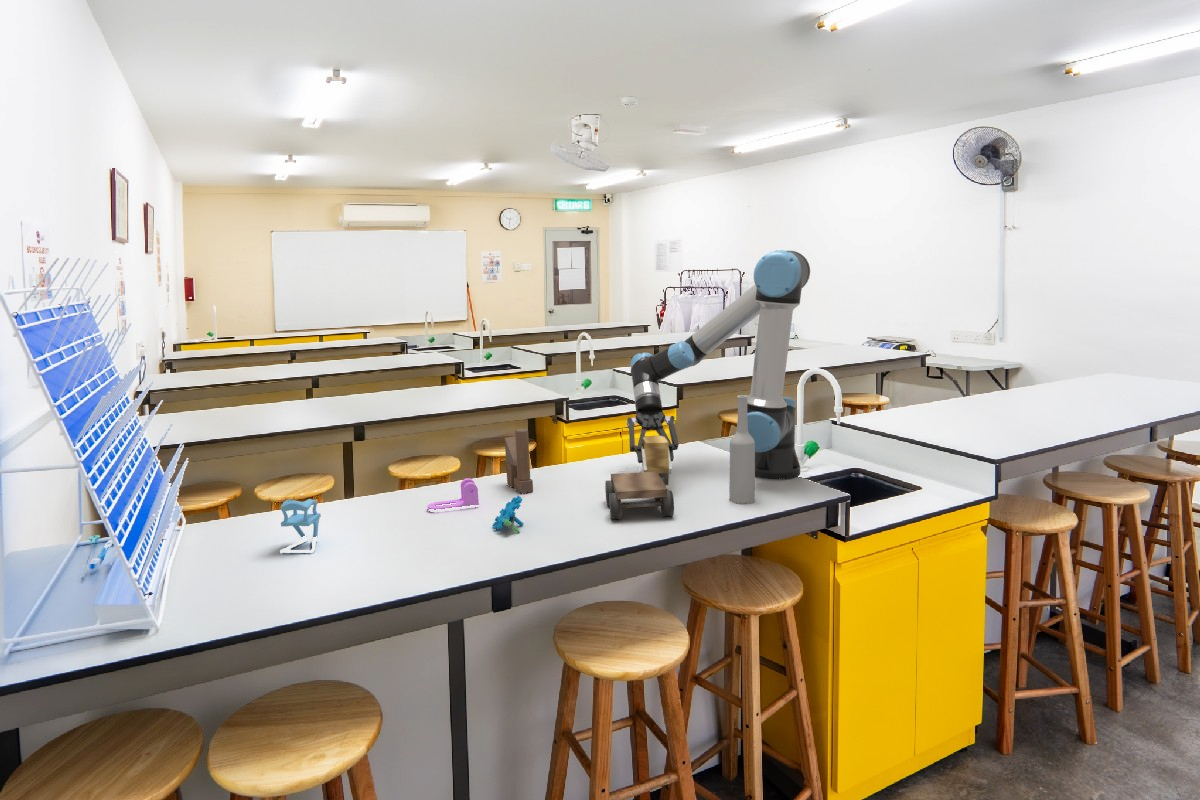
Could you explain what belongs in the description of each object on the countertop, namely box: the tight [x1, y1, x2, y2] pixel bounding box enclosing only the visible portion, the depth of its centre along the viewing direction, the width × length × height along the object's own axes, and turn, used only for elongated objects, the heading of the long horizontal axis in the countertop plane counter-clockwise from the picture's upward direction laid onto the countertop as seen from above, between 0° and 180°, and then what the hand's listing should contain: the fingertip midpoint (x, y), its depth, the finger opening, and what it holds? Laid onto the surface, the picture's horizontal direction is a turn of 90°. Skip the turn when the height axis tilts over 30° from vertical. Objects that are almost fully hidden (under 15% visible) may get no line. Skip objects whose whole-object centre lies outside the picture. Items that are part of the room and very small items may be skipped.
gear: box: [491, 495, 525, 533], centre depth 179 cm, size 11×6×10 cm
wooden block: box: [504, 427, 534, 494], centre depth 209 cm, size 4×11×18 cm, turn 30°
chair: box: [280, 498, 322, 538], centre depth 170 cm, size 8×8×12 cm
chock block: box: [642, 435, 670, 487], centre depth 202 cm, size 6×8×12 cm
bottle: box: [728, 394, 756, 505], centre depth 192 cm, size 7×7×28 cm
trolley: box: [604, 471, 675, 520], centre depth 189 cm, size 15×17×8 cm
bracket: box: [427, 477, 480, 510], centre depth 195 cm, size 13×6×7 cm, turn 109°
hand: (657, 471), depth 199 cm, fingers closed on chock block, 6 cm apart
